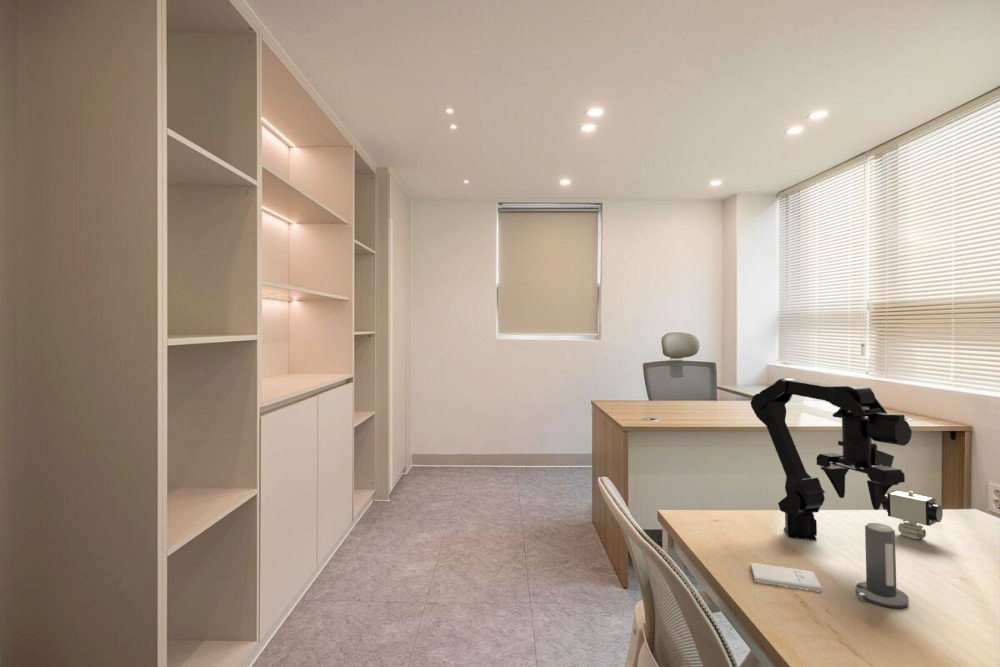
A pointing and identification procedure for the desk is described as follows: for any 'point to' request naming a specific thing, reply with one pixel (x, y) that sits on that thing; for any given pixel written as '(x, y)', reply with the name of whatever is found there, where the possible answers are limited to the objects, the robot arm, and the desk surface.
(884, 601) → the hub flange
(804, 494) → the robot arm
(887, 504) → the pneumatic valve
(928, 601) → the desk surface
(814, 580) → the external hard drive
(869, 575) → the dark gray cylinder
